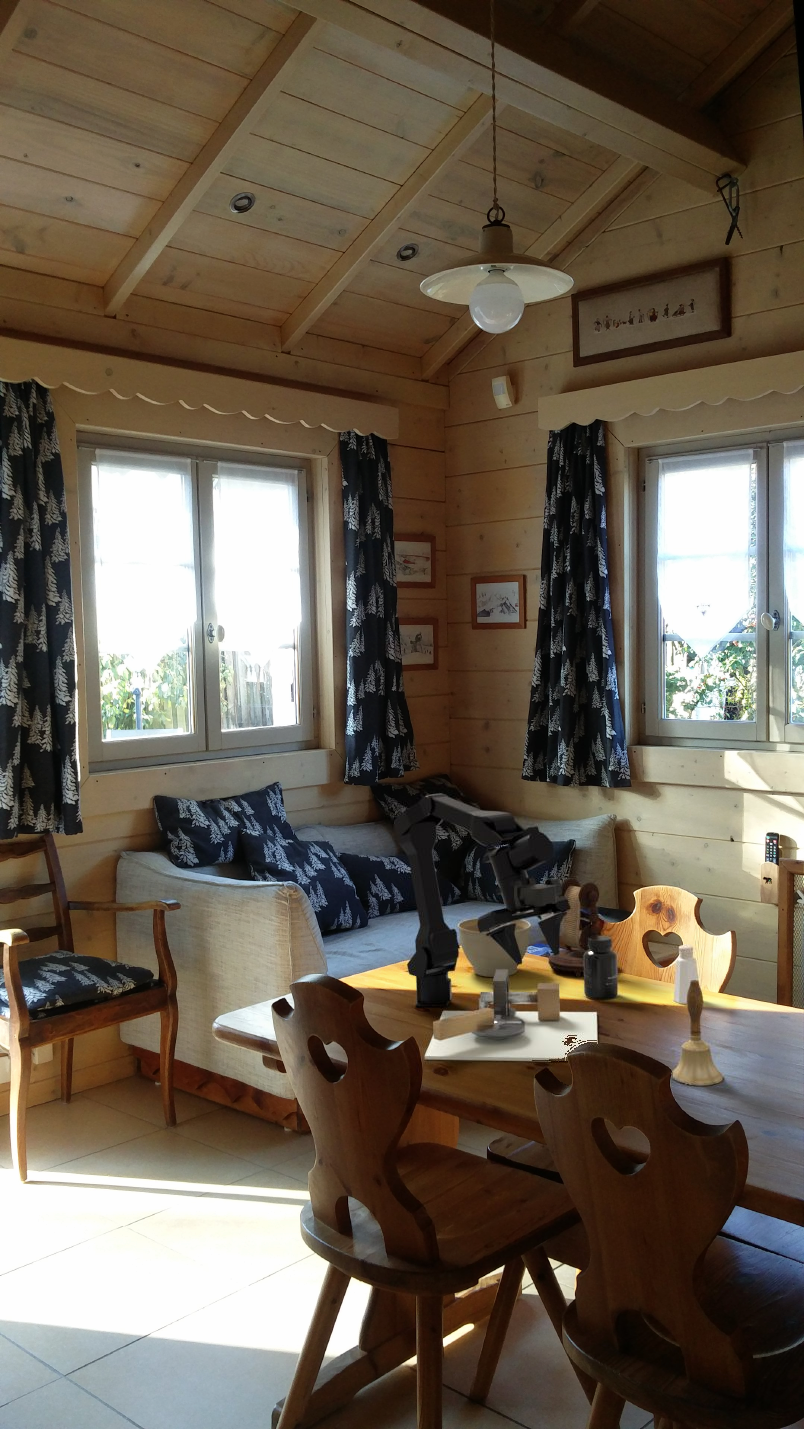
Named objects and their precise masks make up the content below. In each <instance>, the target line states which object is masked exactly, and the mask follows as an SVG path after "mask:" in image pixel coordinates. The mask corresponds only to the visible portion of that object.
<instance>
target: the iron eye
mask: <svg viewBox="0 0 804 1429" xmlns="http://www.w3.org/2000/svg"><path fill="white" fill-rule="evenodd" d="M509 976H510V975H509V970H508V969H496V972H495V975H494V977H493V978H492V992H493V1001H494V1004H493V1007H492V1009H493V1010H494V1015H508V1016H514V1014H515V1011H516V1007H511V1005H510V1004H507V992H510V978H509Z"/></svg>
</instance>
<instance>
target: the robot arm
mask: <svg viewBox="0 0 804 1429" xmlns="http://www.w3.org/2000/svg"><path fill="white" fill-rule="evenodd" d="M443 821H445V822H447V823H449V824H452V825H455V826H456V827H459V828H460V829H461V828H462V829H464V830H466V831H467V832H469V833H470V834H469V835H470V836H471V838H472V840H473V839H474V840H475V841H476V842H477V843H479V844H480V845H482V846H485V847H490V846H493V847H491V848H486V853H485V854H484V856H483V859H482V862H483V863H484V864H486V863H491V865H492V869H493V873H494V876H495V878H496V882H497V884H498V887H497V888H495V892H496V895H497V896H498V895H501V896H502V900H503V904H504V906H505V907H504V908H500V909H495V910H491V911H489V912H487V913H485V914H482V915H481V916H479V917H477V918H478V923H477V926H478V929H479V932H480V933H484V932H488V931H490V932H489V933H487V934H486V936H490V937H491V938H492V939H494V940H495V941H496V942H497V943H498V944H499V945H500V946H501V947H502V948H503V949H504V950H505V951H506V952H507V954H508V955H509V956H510V957H511V958H512V959H513V960H514V961H515V962H516V964H517V965H518V966H519V965H522V964H523V959H522V958H521V954H520V950H519V947H518V944H517V940H516V937H515V927H516V923H514V924H511V923H510V922H513V921H517V920H526V919H531V918H535V917H536V918H538V919H539V920H540V921H538V922H537V924H538V927H539V929H540V930H541V933H542V935H543V937H544V939H545V940H546V943H547V945H548V947H549V950H550V951H551V952H552V954H554V955H555V956H556V955H559V951H560V942H561V941H560V938H561V935H560V933H561V931H560V929H561V925H562V919H563V917H564V916H566V915H567V912H565V911H568V910H570V909H571V907H570V904H569V901H568V899H567V898H565V897H564V896H561V894H562V888H561V885H562V884H561V882H560V881H559V878H558V877H551V878H547V879H545V881H544V883H541V884H539V883H538V884H537V882H536V879H535V878H534V876H529V875H528V873H527V871H529V870H532V869H534V868H536V867H537V866H540V865H542V864H544V863H545V862H548V861H550V860H551V859H552V857H553V856H554V852H555V850H554V844H553V842H552V840H551V839H550V838H549V837H548V836H547V835H546V834H545V833H543V832H542V831H540V830H539V826H538V825H536V826H529V827H527V828H525V827H523V825H521V824H520V823H519V822H518V821H516V820H515V816H514V815H512V814H511V813H510V812H507V811H506V812H505V811H498V810H495V811H494V810H482V809H479V808H477V807H474V806H471V805H469V804H467V803H464V802H462V801H459V800H457V799H454V798H452V797H449V796H448V795H447V794H446V793H445V794H444V793H433V794H427V795H425V796H424V797H422V798H420V800H419V801H418V802H416V803H415V804H413V805H412V806H410V807H408V808H406V809H405V810H404V811H402V812H400V813H398V815H397V816H396V819H395V820H394V822H393V829H394V832H395V837H396V840H397V844H398V846H399V847H400V848H401V849H402V851H404V852H405V854H406V855H407V857H408V863H409V867H410V873H411V874H410V875H411V881H412V886H413V892H414V897H415V903H416V907H417V914H418V920H419V928H418V931H417V934H416V937H415V942H414V944H415V953H414V954H413V955H412V957H410V959H409V961H408V962H407V964H406V966H407V970H408V974H409V975H411V976H412V977H415V981H416V982H415V983H416V1001H415V1007H438V1008H439V1007H440V1008H441V1007H442V1008H443V1007H448V1006H449V1003H450V1002H451V1000H452V996H453V995H452V994H453V993H452V979H451V977H449V972H455V971H456V967H457V962H458V959H459V956H460V954H459V953H460V952H459V951H460V950H459V949H461V947H460V946H461V945H459V942H458V932H457V930H456V929H455V928H450V927H449V925H448V924H447V923H446V922H445V918H444V913H443V907H442V902H441V895H440V889H439V884H438V878H437V871H436V867H435V861H434V854H433V849H434V847H435V844H436V841H437V839H438V833H437V827H438V826H440V824H441V823H443ZM497 847H498V848H497ZM563 912H564V913H563Z"/></svg>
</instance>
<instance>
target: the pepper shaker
mask: <svg viewBox="0 0 804 1429" xmlns="http://www.w3.org/2000/svg"><path fill="white" fill-rule="evenodd" d="M678 950H679V953H678V954H679V957H678V958H677V959H676V964H675V966H676V967H675V976H674V977H675V978H674V990H673V1002H675V1003H677V1004H679V1005H681V1004H682V1005H687V993H688V989H689V986H690V982H691V980H697V981H699V982H700V980H699V974H698V973H699V972H698V967H697V960H696V958H694V957H693V956H694V947H693V946H692V945H688V944H682V945H679V947H678Z"/></svg>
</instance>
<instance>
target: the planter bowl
mask: <svg viewBox="0 0 804 1429" xmlns="http://www.w3.org/2000/svg"><path fill="white" fill-rule="evenodd" d="M478 918H479V917H475V918H471V919H465V920H463V921H461V922H459V923H458V924H457V928H458V929H457V930H458V932H459V935H458V936H459V941H460V946H461V948H462V951H463V953H464V956H465V958H466V960H467V961H468V962H469V964H470V965H471V966H472V970H473V973H474V974H476V975H478V976H482V977H487V978H488V977H489V978H494V975H495V972H496V969H508V970H509V976H512V975H514V974H516V973H517V972H518V966H519V965H517V964H516V962H515V961H514V960H513V959H512V958H511V957H510V956H509V955H508V954H507V952H506V951H505V950H504V949H503V948H502V947H501V946H500V945H499V944H498V943H497V942H496V941H495V940H494V939H492V938H491V937H490V936H486V934H487V933H489V932H490V931H488V932H484V933H480V932H479V929H478V926H477V923H478ZM510 923H511V924H514V923H516V927H515V937H516V940H517V944H518V947H519V950H520V954H521V958H522V960H523V959H524V957H525V955H526V953H527V951H528V948H529V944H530V933H531V928H532V926H531V923H530V922H529V921H526V919H522V920H517V921H513V922H510Z"/></svg>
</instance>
